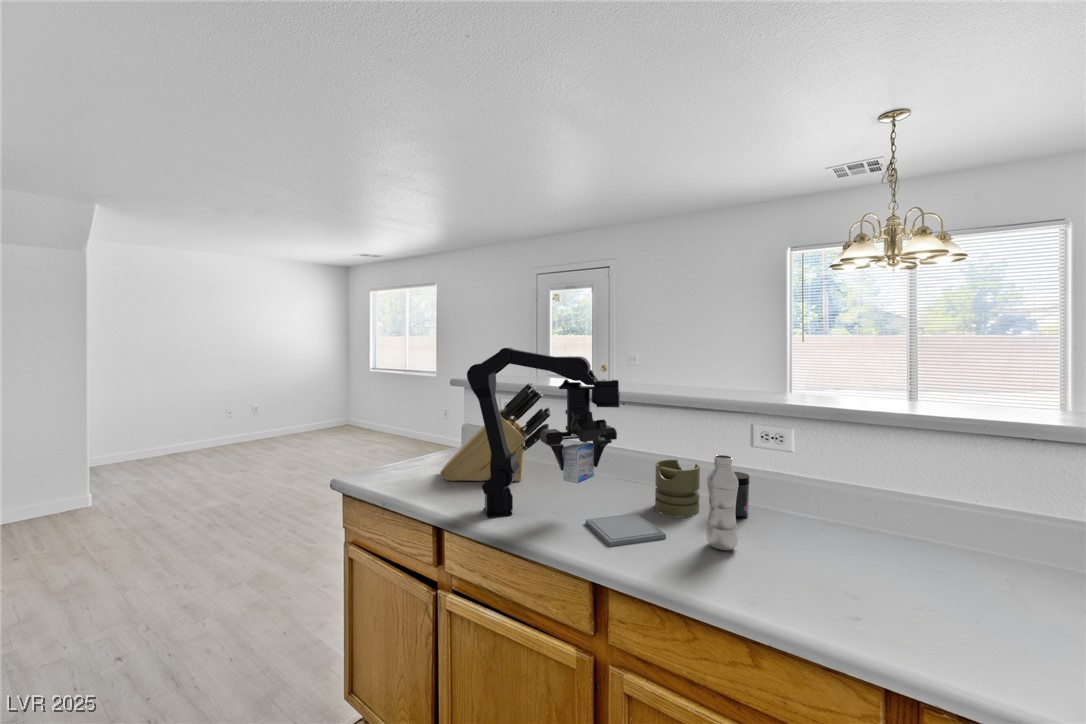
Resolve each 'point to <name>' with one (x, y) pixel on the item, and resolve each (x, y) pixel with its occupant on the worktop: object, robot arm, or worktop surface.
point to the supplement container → (742, 495)
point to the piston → (676, 489)
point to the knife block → (477, 453)
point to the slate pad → (624, 529)
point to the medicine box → (578, 462)
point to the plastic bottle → (722, 504)
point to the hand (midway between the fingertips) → (578, 468)
